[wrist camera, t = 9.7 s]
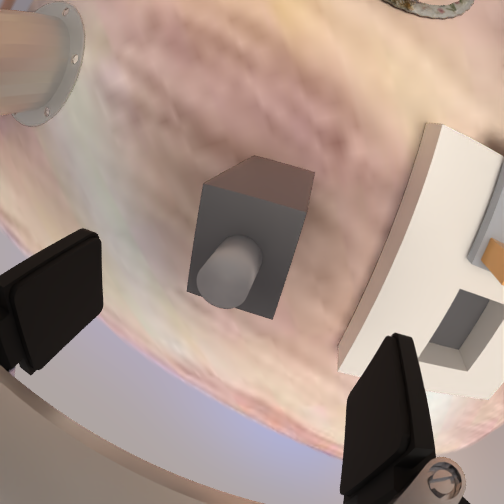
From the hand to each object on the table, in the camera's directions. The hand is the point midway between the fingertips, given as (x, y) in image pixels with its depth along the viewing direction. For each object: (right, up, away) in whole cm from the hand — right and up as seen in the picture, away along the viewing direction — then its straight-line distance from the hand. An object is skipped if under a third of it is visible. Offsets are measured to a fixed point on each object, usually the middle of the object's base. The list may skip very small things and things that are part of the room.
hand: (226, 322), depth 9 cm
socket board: (+17, 0, +10) cm, 20 cm away
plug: (+2, +6, +11) cm, 13 cm away
